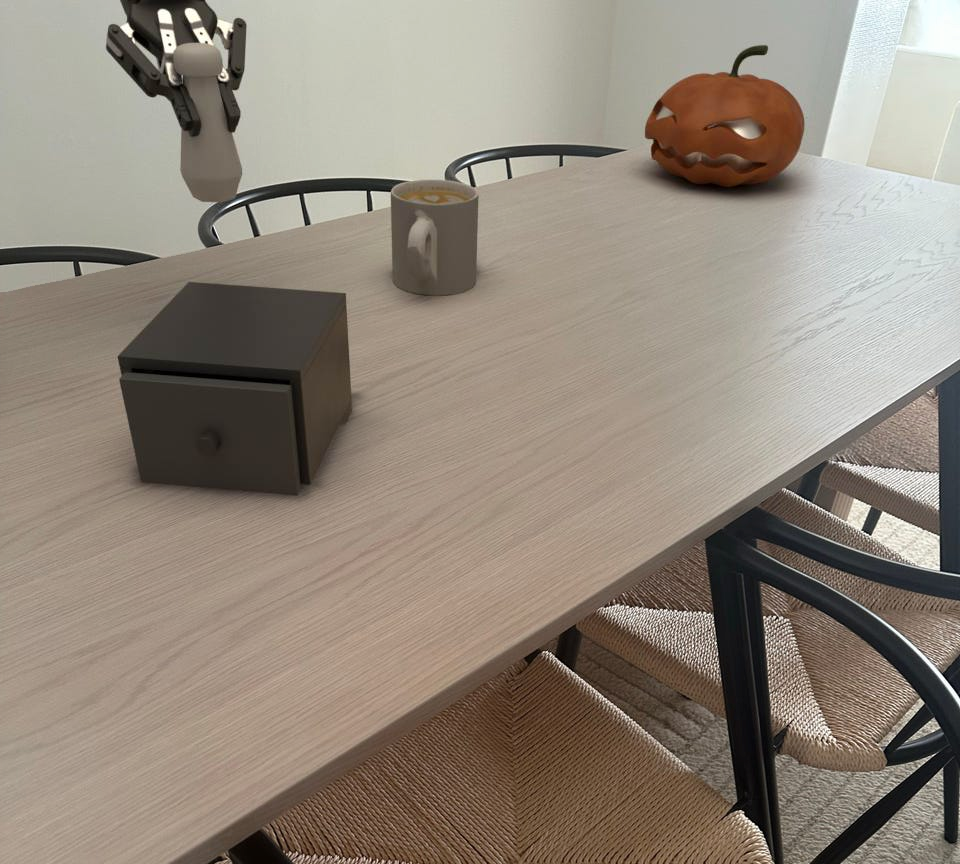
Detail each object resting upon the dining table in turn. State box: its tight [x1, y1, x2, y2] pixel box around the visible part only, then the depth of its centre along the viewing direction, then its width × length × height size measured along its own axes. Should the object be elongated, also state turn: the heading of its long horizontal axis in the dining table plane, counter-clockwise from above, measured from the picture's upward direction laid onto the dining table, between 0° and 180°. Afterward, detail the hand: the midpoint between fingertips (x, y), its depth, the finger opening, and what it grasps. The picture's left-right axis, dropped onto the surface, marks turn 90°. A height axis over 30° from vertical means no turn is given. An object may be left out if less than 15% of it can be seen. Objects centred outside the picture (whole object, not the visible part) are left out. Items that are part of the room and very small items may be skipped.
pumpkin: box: [644, 44, 806, 188], centre depth 151 cm, size 25×25×19 cm
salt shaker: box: [173, 43, 243, 203], centre depth 93 cm, size 6×6×13 cm
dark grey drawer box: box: [117, 281, 353, 486], centre depth 82 cm, size 16×14×11 cm
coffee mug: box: [390, 179, 480, 297], centre depth 113 cm, size 13×10×10 cm
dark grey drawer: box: [118, 369, 302, 496], centre depth 80 cm, size 16×13×9 cm
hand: (214, 128), depth 92 cm, fingers closed on salt shaker, 3 cm apart
